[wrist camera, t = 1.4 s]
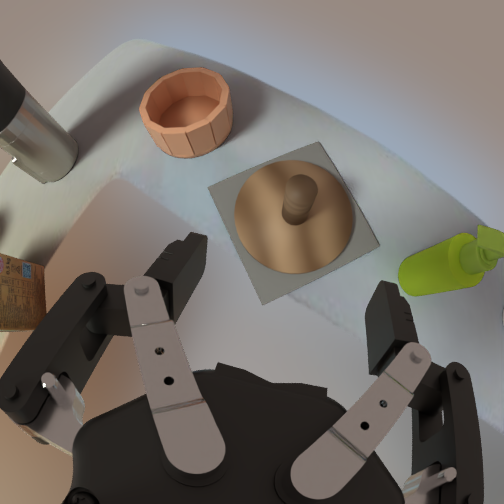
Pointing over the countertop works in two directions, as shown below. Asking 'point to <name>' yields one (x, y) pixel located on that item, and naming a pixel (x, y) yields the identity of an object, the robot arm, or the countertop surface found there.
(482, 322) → the countertop surface
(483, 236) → the soap dispenser
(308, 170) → the lid
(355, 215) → the mat
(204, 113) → the bowl
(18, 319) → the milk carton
